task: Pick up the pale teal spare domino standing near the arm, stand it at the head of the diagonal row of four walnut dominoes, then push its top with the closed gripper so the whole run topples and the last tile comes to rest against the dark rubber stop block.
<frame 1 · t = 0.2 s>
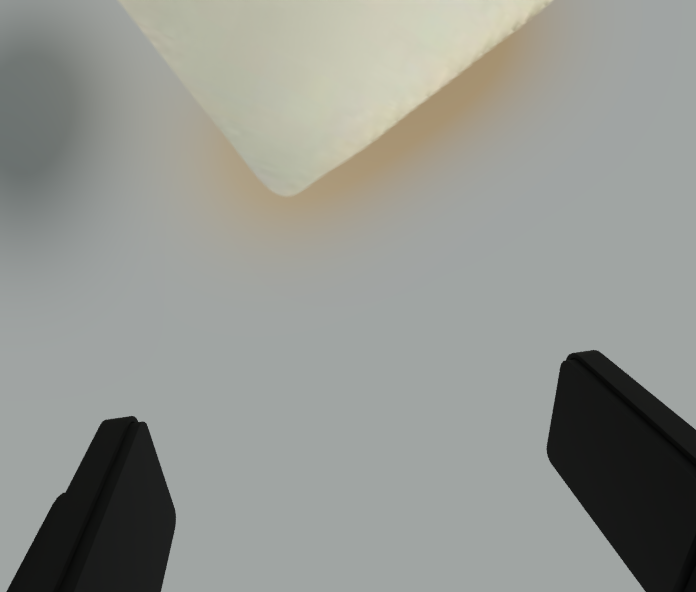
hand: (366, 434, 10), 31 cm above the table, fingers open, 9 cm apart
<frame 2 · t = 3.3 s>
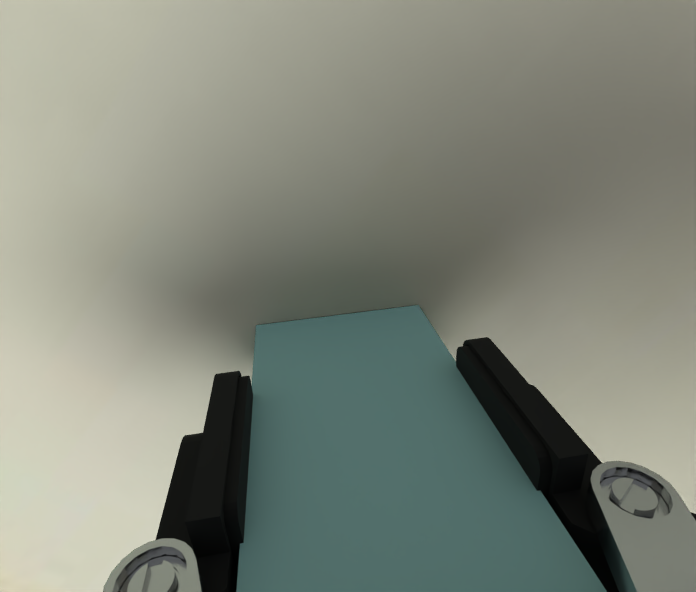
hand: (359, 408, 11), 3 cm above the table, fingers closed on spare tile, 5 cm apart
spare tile: (340, 337, 14), on the table, touching gripper
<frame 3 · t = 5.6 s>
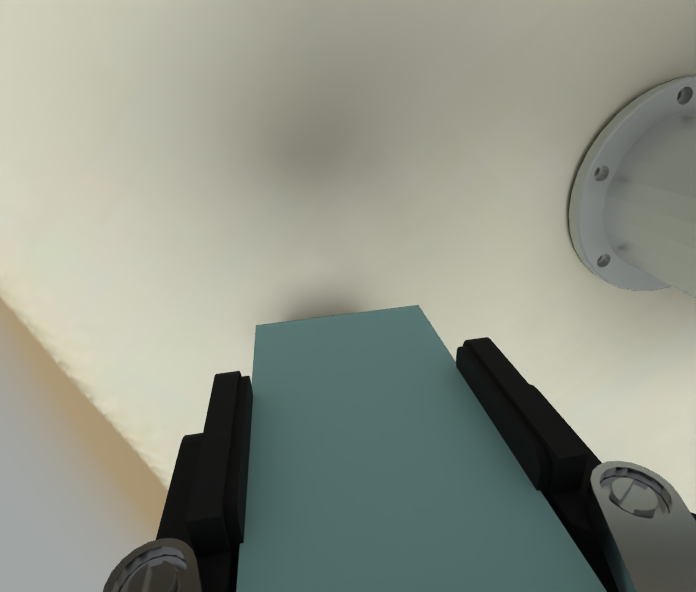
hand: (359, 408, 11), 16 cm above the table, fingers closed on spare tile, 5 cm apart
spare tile: (340, 337, 14), point 12 cm above the table, touching gripper
when the fingers open (4 cm above the table, at t = 7.9 s): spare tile stays where it is, on the table.
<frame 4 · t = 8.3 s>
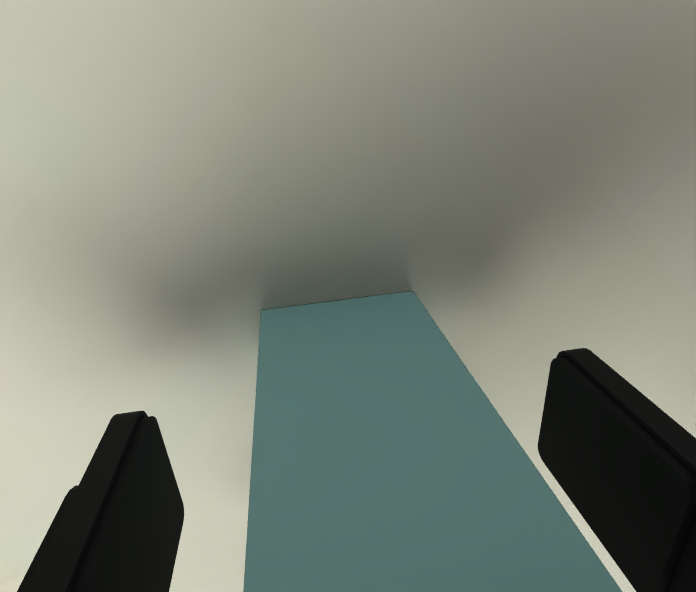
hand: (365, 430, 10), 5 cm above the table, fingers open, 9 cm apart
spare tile: (340, 322, 15), on the table
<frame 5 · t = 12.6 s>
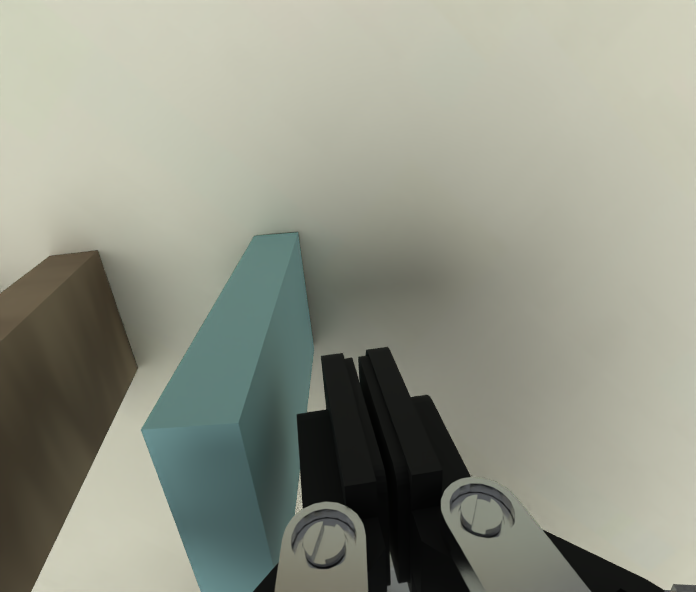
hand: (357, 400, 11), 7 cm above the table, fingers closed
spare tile: (286, 295, 17), on the table, tilted 8°
tile 2: (96, 316, 17), on the table
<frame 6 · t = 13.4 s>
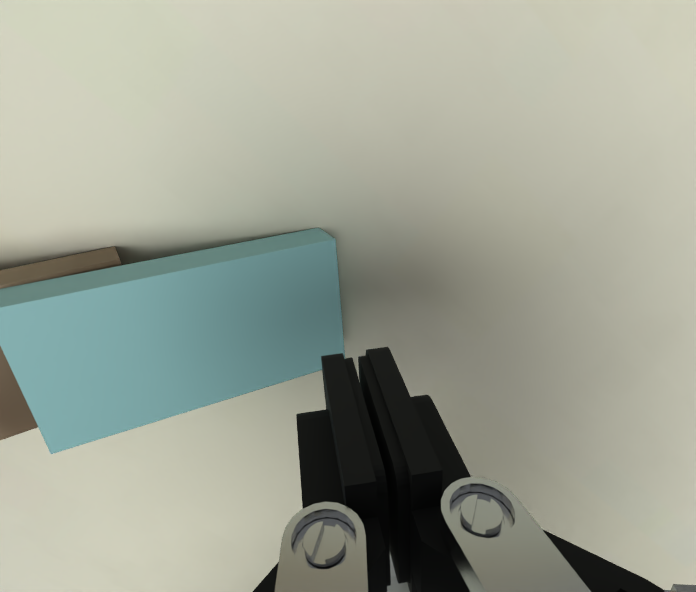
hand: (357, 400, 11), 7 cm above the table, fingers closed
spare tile: (332, 296, 17), point 1 cm above the table, tilted 74°, touching tile 2
tile 2: (137, 317, 16), point 1 cm above the table, tilted 68°, touching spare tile, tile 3
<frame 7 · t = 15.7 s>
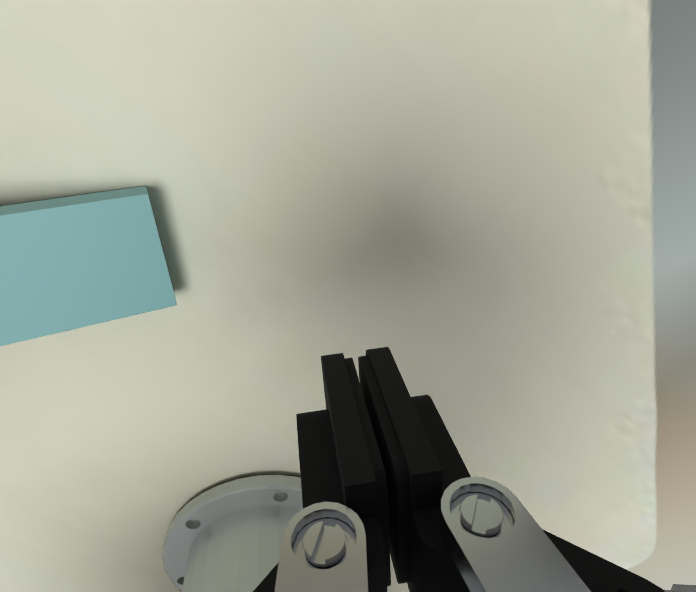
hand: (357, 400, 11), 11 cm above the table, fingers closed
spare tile: (161, 246, 19), point 1 cm above the table, tilted 74°, touching tile 2
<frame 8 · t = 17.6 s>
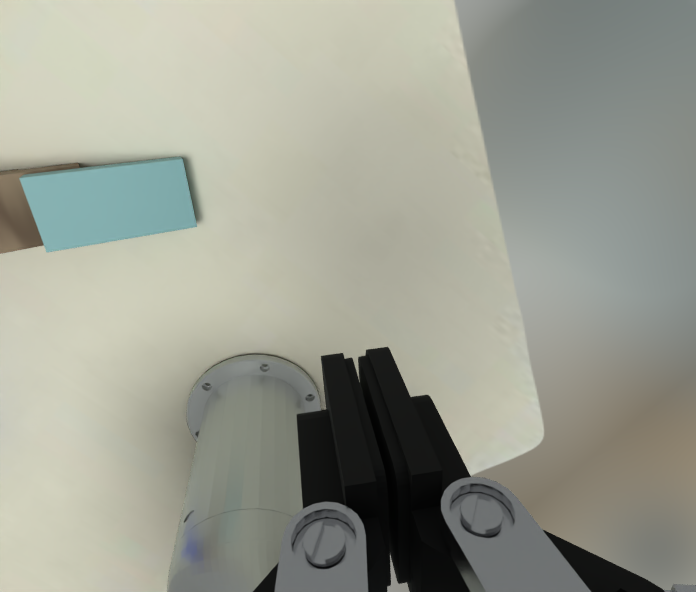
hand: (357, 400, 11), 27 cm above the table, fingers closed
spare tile: (188, 192, 34), point 1 cm above the table, tilted 74°
tile 2: (89, 199, 33), point 1 cm above the table, tilted 67°, touching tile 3
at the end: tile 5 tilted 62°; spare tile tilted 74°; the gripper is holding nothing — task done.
